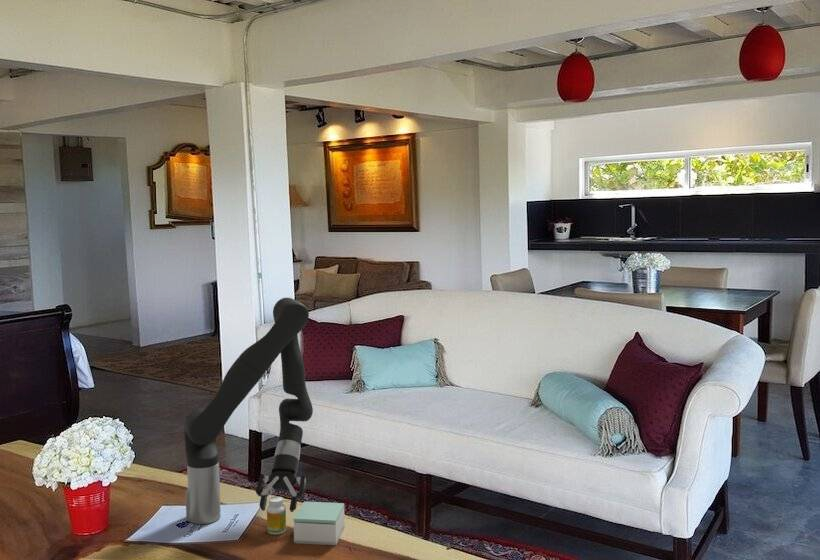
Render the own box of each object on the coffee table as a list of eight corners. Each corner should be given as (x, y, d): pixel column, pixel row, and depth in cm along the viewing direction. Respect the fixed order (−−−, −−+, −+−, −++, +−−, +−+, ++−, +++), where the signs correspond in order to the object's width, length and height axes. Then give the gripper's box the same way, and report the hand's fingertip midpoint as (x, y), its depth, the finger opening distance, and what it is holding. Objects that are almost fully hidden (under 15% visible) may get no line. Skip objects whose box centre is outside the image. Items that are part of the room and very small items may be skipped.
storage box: (294, 543, 212) (293, 522, 211) (304, 524, 224) (304, 505, 223) (336, 545, 210) (335, 524, 210) (344, 526, 222) (344, 506, 222)
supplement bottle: (282, 535, 216) (281, 503, 215) (264, 534, 217) (263, 501, 216) (288, 527, 221) (288, 495, 220) (271, 526, 223) (270, 494, 221)
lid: (293, 521, 211) (293, 518, 211) (304, 504, 223) (304, 501, 223) (335, 523, 210) (335, 520, 210) (344, 505, 221) (344, 503, 221)
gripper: (261, 452, 227) (250, 504, 217) (307, 453, 225) (298, 506, 215) (266, 462, 233) (256, 514, 223) (311, 464, 231) (303, 516, 221)
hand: (277, 510), depth 219 cm, fingers open, 8 cm apart
